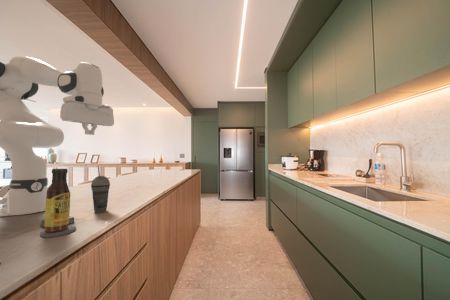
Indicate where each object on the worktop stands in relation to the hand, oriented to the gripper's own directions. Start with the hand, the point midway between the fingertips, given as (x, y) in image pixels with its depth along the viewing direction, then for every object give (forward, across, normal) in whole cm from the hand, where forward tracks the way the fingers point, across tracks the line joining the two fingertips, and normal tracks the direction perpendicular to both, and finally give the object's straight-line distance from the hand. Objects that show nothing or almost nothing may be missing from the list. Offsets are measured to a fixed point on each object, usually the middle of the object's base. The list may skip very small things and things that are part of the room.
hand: (89, 134), depth 87 cm
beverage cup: (+34, -4, +1) cm, 34 cm away
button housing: (+33, +12, +3) cm, 36 cm away
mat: (+33, +16, +12) cm, 39 cm away
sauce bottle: (+33, +16, +11) cm, 38 cm away
